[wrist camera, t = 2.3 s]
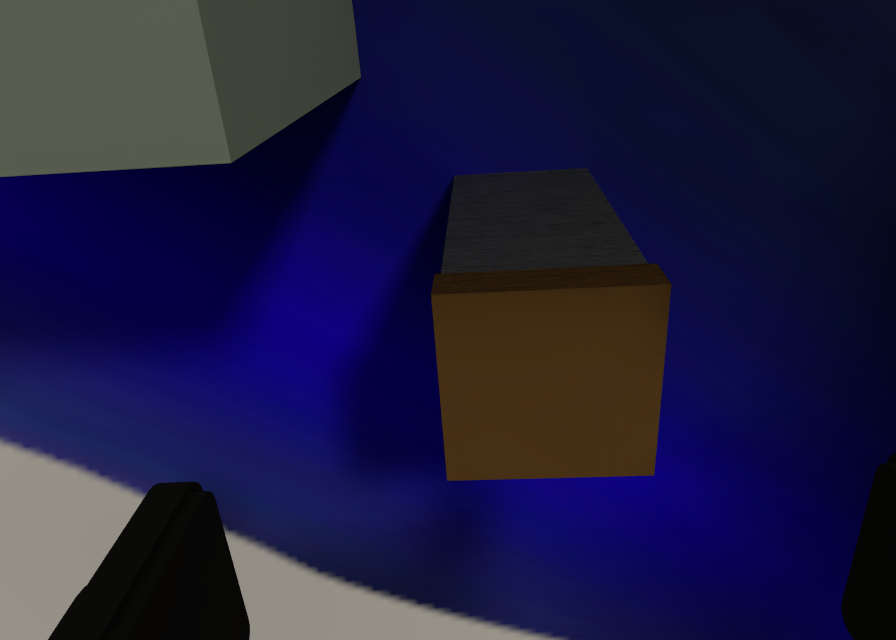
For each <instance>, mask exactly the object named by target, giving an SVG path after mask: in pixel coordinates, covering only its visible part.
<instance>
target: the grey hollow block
mask: <svg viewBox="0 0 896 640" xmlns="http://www.w3.org/2000/svg"><path fill="white" fill-rule="evenodd" d="M359 78H361V74H360V65H359V57H358V49H357V40H356V32H355V23H354V15H353V7H352V0H0V177H8V176H24V175H41V174H58V173H74V172H91V171H108V170H124V169H141V168H157V167H174V166H191V165H207V164H224V163H232V162H234V161H235V160H237V159H238V158H240V157H241V156H243V155H244V154H246V153H247V152H249V151H250V150H252V149H253V148H255V147H256V146H258V145H259V144H261V143H262V142H264V141H265V140H267V139H268V138H270V137H271V136H273V135H274V134H276V133H277V132H279V131H280V130H282V129H284V128H285V127H287V126H288V125H290V124H291V123H293V122H294V121H296V120H297V119H299V118H300V117H302V116H303V115H305V114H306V113H308V112H309V111H311V110H312V109H314V108H315V107H317V106H318V105H320V104H321V103H323V102H324V101H326V100H327V99H329V98H330V97H332V96H333V95H335V94H336V93H338V92H339V91H341V90H342V89H344V88H346V87H347V86H349V85H350V84H352V83H353V82H355V81H356V80H358V79H359Z"/></svg>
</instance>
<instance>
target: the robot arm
mask: <svg viewBox="0 0 896 640" xmlns="http://www.w3.org/2000/svg"><path fill="white" fill-rule="evenodd" d="M841 609H842V616H843V620H844V623H845V626H846V628H847V630H848V632H849V633H850V635H851V637H852V638H853V640H896V453H893V454H892V455H891V456H890V457H889V458H888V461H887V463H885V464H881V465H880V466H879V467H878V468H877V470H876V472H875V476H874V480H873V484H872V488H871V492H870V495H869V499H868V503H867V507H866V511H865V514H864V518H863V522H862V526H861V530H860V534H859V537H858V541H857V545H856V549H855V553H854V557H853V560H852V564H851V568H850V572H849V576H848V579H847V583H846V587H845V591H844V595H843V599H842V604H841ZM249 636H250V624H249V620H248V615H247V612H246V608H245V605H244V601H243V598H242V594H241V591H240V587H239V583H238V579H237V576H236V572H235V569H234V565H233V561H232V558H231V555H230V551H229V547H228V543H227V540H226V536H225V532H224V529H223V525H222V522H221V518H220V514H219V511H218V507H217V503H216V500H215V497H214V495H213V494H212V492H209V491H206V492H204V491H203V489H202V486H201V485H200V484H199V483H197V482H176V483H158V484H156V485H154V486H153V487H152V488H151V489H150V490H149V492H148V493H147V495H146V496H145V498H144V499H143V501H142V502H141V504H140V505H139V507H138V509H137V510H136V511H135V513H134V515H133V516H132V517H131V519H130V521H129V522H128V524H127V525H126V527H125V528H124V530H123V531H122V533H121V534H120V536H119V537H118V539H117V540H116V542H115V543H114V545H113V547H112V548H111V549H110V551H109V553H108V554H107V556H106V557H105V559H104V560H103V562H102V563H101V565H100V566H99V568H98V570H97V571H96V572H95V574H94V575H93V577H92V578H91V580H90V582H89V583H88V585H87V586H85V587H84V588H83V589H82V591H81V592H80V593H79V594H78V595H77V597H76V598H75V599H74V601H73V602H72V604H71V606H70V607H69V608H68V610H67V611H66V613H65V615H64V616H63V618H62V619H61V621H60V622H59V624H58V625H57V627H56V628H55V630H54V631H53V633H52V634H51V636H50V637H49V639H48V640H249Z"/></svg>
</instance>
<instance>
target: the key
mask: <svg viewBox="0 0 896 640" xmlns="http://www.w3.org/2000/svg"><path fill="white" fill-rule="evenodd" d="M670 292H671V283H670V282H669V280H668V279H667V277H666V276H665V274H664V273H663V271H662V270H661V268H660V267H659V265H658V264H657V263H654V264H648V263H647V261H646V260H645V258H644V256H643V255H642V253H641V252H640V250H639V249H638V247H637V246H636V244H635V242H634V241H633V239H632V238H631V236H630V235H629V233H628V232H627V230H626V228H625V227H624V225H623V224H622V222H621V221H620V219H619V218H618V216H617V215H616V213H615V211H614V210H613V208H612V207H611V205H610V204H609V202H608V201H607V199H606V197H605V196H604V194H603V193H602V191H601V190H600V188H599V187H598V185H597V183H596V182H595V180H594V179H593V177H592V176H591V174H590V173H589V171H588V169H587V168H580V169H562V170H545V171H528V172H510V173H493V174H475V175H458V176H454V181H453V189H452V196H451V203H450V210H449V218H448V225H447V232H446V239H445V247H444V254H443V261H442V268H441V274H434V280H433V287H432V293H431V299H432V311H433V322H434V334H435V345H436V357H437V369H438V380H439V392H440V403H441V415H442V427H443V438H444V450H445V461H446V473H447V481H456V480H495V479H534V478H573V477H612V476H650V475H654V471H655V460H656V449H657V438H658V427H659V415H660V404H661V393H662V382H663V370H664V359H665V348H666V337H667V326H668V314H669V303H670Z"/></svg>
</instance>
